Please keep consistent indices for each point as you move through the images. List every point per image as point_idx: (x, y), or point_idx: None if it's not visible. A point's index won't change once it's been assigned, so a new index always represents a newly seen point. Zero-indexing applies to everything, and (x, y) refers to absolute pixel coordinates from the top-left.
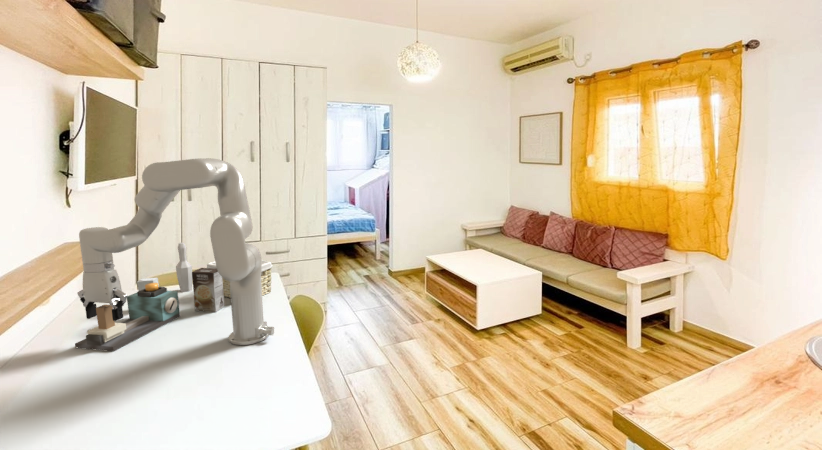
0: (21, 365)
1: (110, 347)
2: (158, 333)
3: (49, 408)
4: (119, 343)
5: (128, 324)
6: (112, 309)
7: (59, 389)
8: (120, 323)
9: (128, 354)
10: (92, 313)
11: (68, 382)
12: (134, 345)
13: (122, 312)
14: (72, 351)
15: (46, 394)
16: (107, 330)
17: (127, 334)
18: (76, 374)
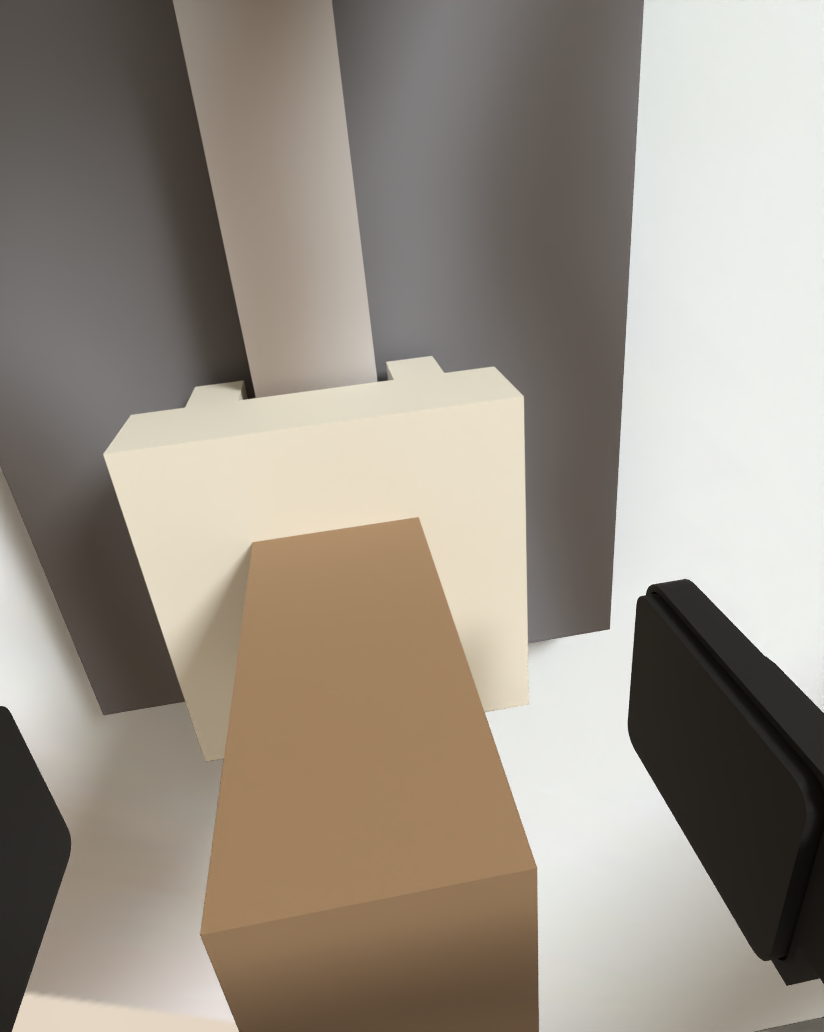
0: (76, 948)
1: (571, 628)
2: (765, 44)
3: (774, 1009)
4: (611, 561)
5: (294, 154)
6: (807, 976)
7: (676, 951)
8: (427, 427)
9: (775, 591)
10: (11, 857)
11: (660, 913)
12: (696, 445)
13: (752, 650)
14: (180, 722)
15: (651, 985)
16: (484, 666)
17: (484, 348)
18: (623, 865)
